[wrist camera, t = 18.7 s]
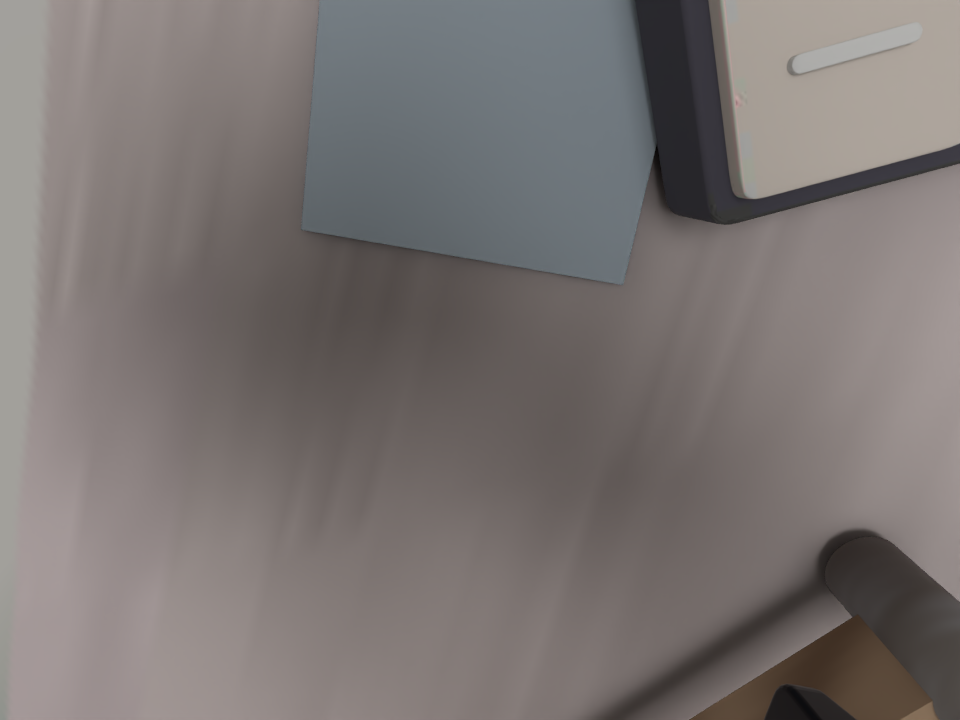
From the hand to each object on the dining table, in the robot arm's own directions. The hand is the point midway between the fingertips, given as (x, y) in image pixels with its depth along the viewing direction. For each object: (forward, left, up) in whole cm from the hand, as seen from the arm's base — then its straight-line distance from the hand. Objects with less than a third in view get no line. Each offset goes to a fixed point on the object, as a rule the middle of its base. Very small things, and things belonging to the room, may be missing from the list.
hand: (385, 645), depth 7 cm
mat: (0, -10, -11) cm, 15 cm away
